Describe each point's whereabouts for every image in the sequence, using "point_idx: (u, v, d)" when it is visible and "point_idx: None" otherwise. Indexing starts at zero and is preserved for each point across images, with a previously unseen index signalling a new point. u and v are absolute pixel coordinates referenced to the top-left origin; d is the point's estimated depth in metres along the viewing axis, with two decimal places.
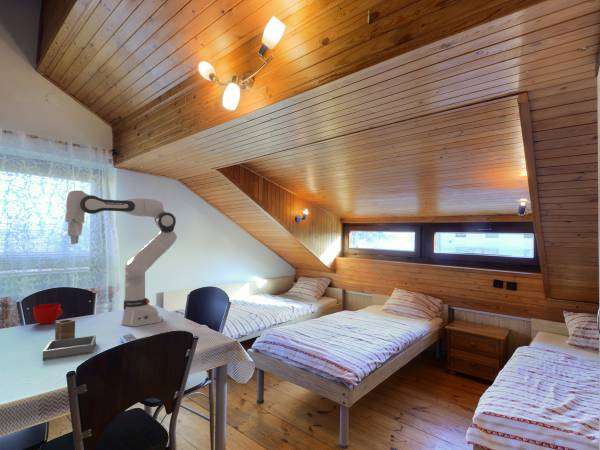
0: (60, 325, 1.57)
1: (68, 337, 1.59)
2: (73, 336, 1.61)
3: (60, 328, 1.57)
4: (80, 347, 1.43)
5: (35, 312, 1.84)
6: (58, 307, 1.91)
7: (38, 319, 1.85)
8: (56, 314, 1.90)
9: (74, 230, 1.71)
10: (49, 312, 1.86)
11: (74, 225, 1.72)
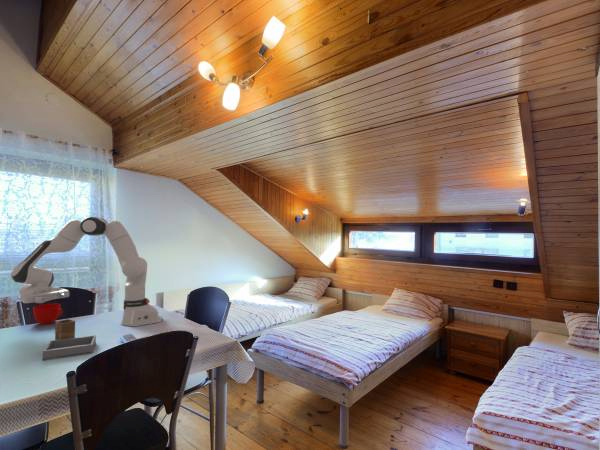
0: (60, 325, 1.57)
1: (68, 337, 1.59)
2: (73, 336, 1.61)
3: (60, 328, 1.57)
4: (80, 347, 1.43)
5: (35, 312, 1.84)
6: (58, 307, 1.91)
7: (38, 319, 1.85)
8: (56, 314, 1.90)
9: (23, 296, 1.61)
10: (49, 312, 1.86)
11: (21, 296, 1.63)
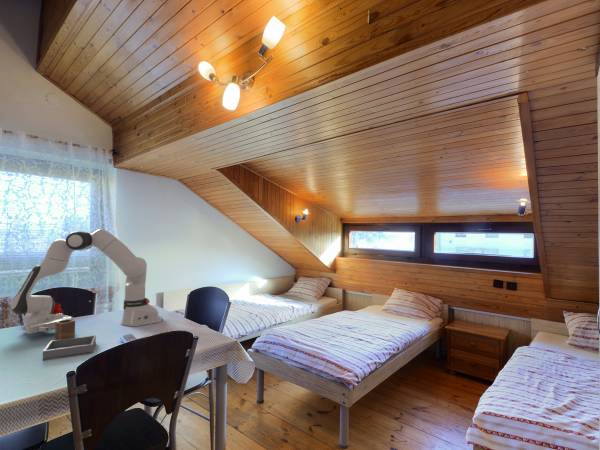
0: (60, 325, 1.57)
1: (68, 337, 1.59)
2: (73, 336, 1.61)
3: (60, 328, 1.57)
4: (80, 347, 1.43)
5: None
6: (58, 307, 1.91)
7: None
8: None
9: (26, 327, 1.59)
10: None
11: (25, 326, 1.61)
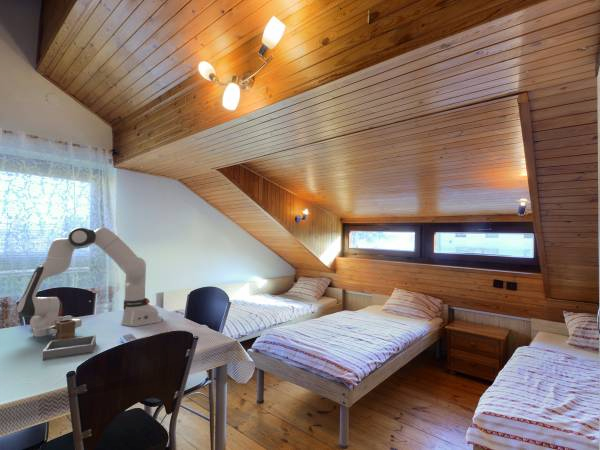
0: (60, 325, 1.57)
1: (68, 337, 1.59)
2: (73, 336, 1.61)
3: (60, 328, 1.57)
4: (80, 347, 1.43)
5: None
6: None
7: None
8: None
9: (35, 330, 1.55)
10: None
11: (33, 329, 1.56)
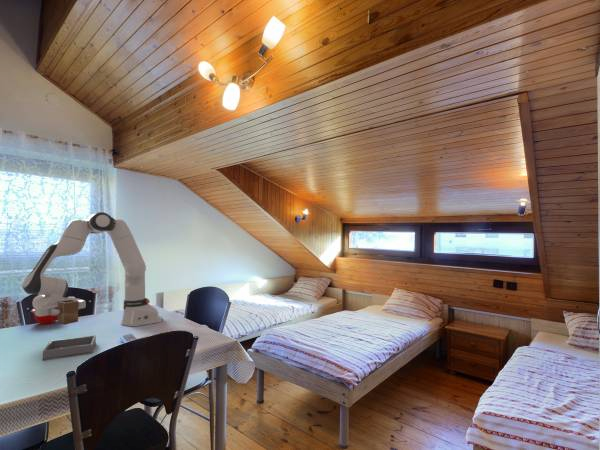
0: (63, 305, 1.49)
1: (71, 318, 1.51)
2: (76, 317, 1.53)
3: (63, 308, 1.49)
4: (80, 347, 1.43)
5: None
6: None
7: (38, 319, 1.85)
8: None
9: (36, 309, 1.47)
10: None
11: (35, 308, 1.49)
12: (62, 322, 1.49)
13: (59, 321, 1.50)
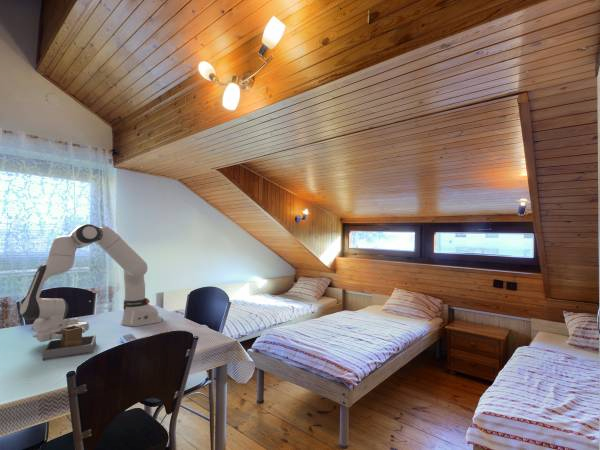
0: (66, 332, 1.44)
1: (75, 345, 1.46)
2: (80, 344, 1.48)
3: (66, 336, 1.44)
4: (80, 347, 1.43)
5: None
6: None
7: None
8: None
9: (38, 334, 1.42)
10: None
11: (37, 333, 1.44)
12: None
13: None
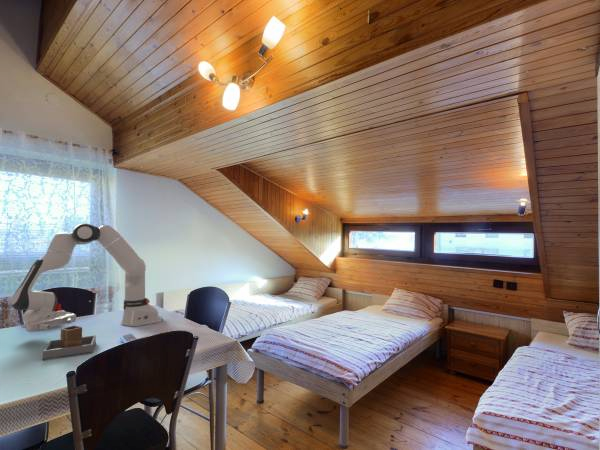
0: (66, 332, 1.44)
1: (75, 345, 1.46)
2: (80, 344, 1.48)
3: (66, 336, 1.44)
4: (80, 347, 1.43)
5: None
6: (58, 307, 1.91)
7: None
8: None
9: (27, 325, 1.49)
10: None
11: (25, 324, 1.51)
12: None
13: None
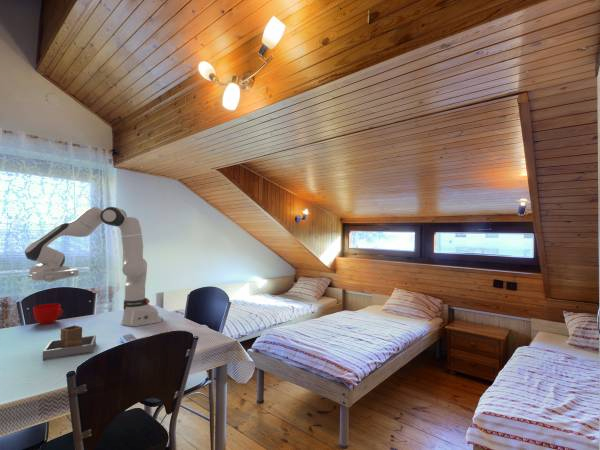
0: (66, 332, 1.44)
1: (75, 345, 1.46)
2: (80, 344, 1.48)
3: (66, 336, 1.44)
4: (80, 347, 1.43)
5: (35, 312, 1.84)
6: (58, 307, 1.91)
7: (38, 319, 1.85)
8: (56, 314, 1.90)
9: (33, 274, 1.62)
10: (49, 312, 1.86)
11: (32, 274, 1.63)
12: None
13: None
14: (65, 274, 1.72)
